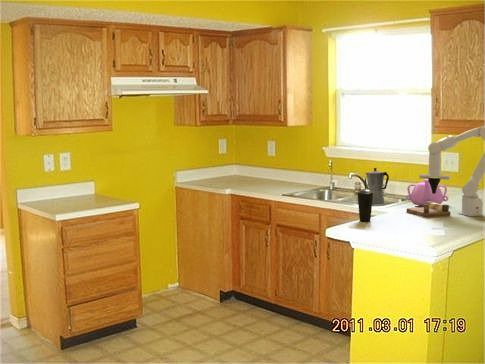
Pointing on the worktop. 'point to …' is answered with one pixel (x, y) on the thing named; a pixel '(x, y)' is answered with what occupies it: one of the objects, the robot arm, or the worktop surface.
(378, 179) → the moka pot
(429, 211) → the walnut stool seat
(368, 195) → the drinking cup
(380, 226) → the worktop surface
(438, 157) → the robot arm
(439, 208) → the birch leg
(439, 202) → the teapot
